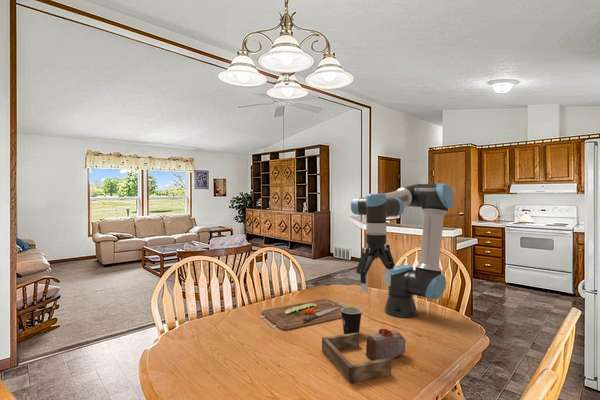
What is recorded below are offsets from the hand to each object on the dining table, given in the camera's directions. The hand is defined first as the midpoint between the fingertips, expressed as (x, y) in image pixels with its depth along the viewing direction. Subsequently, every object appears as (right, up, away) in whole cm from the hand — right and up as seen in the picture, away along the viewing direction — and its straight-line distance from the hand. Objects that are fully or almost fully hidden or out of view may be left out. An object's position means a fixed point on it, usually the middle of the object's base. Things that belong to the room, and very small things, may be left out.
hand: (376, 288), depth 131 cm
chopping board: (-26, -23, +37) cm, 50 cm away
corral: (-10, -23, -11) cm, 28 cm away
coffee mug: (-7, -23, +14) cm, 28 cm away
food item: (+2, -23, -7) cm, 24 cm away
